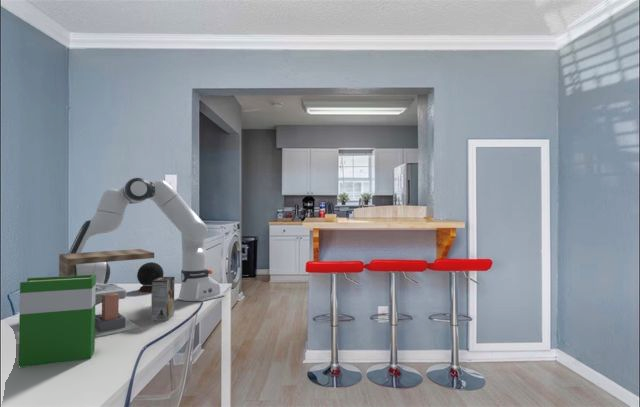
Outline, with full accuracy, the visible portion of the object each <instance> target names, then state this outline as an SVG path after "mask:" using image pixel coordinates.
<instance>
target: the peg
mask: <svg viewBox="0 0 640 407" xmlns="http://www.w3.org/2000/svg"><path fill="white" fill-rule="evenodd" d="M119 300H120V299H119V295H118V294H116V293H110V294H102V303H101V316H102V320H103V321H105V320H111V319H117V318H118V313H119V304H120V303H119Z"/></svg>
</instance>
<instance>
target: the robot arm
mask: <svg viewBox="0 0 640 407" xmlns="http://www.w3.org/2000/svg"><path fill="white" fill-rule="evenodd" d="M146 200H151V201H152V202H153V203H155V205H156V206H157V207H158V208H159V209H160V210H161V212H162V213H163V214H164V215H165V217H166V218H167V219H168V220H169V221H170V222H171V223H172V224H173V225H174V226H175V227H176V229H177V230H178V231H180V233H181V249H182V251H181V253H182V255H181V256H182V258H181V260H182V261H181V262H182V268H181V271H180V282H181V283H180V284H181V286H180V291H179V295H178V297H177V298H178V300H180V301H186V302H203V301H204V302H205V301H208V300H212V299H216V298H217V299H218V298H222V297H225V295H226V294H225V292H223V291H221V287H220V286H221V285H220V283H219V282H218V281H216V280H215V279H214V278H213V277H211V276H209V275H212V274H213V270H211V269H207V268H206V259H207V258H206V257H207V256H206V254H207V253H206V248H205V240H206V238H207V237H208V234H209V230H208V228H209V227H208V226H207V224H206V223H205V222H204V221H203V220H202V219H201V217H200V216H198V214H197V213H196V212H195V211H194V210H193V209H192V208H191V207H190V206H189V204H188V203H187V202H185V200H184V199H183V198H182V197H181V195H180V194H179V193H178V192H177V191H176V190H175V189H174V188H173V186H171V185H170V184H169V183H168V182H167V181H165V180H163V179H157V180H154V181H153V182H152V181H150V180H148V179H145V178H142V177H133V178H131V179H129V180H128V181H127V182H126V183H124V186H123V187H122V188H121V189H119V188H118V189H117V188H109V189H106V190H104V192H103V193H102V196H101V198H100V200H99V202H98V205H97V208H96V211H95V214H94V215H93V217H92V218H91V219H89V220H86V221H85V222H84V223H82V226H81V228H80V229H79V230H78V233H77V235H76V237H75V238H74V241H73V243H72V244H71V247H70V249H69V251H68V253H67V254H70V253H83V249H84V248H85V245H86V244H87V241H89V239H90V238H92V237H93V236H97V235H100V234H108V233H111V232H114V231H116V230H118V228H120V226H121V225H122V222H123V219H124V215H125V212H126V209H127V207H128V205H129V204H141V203H143V202H145V201H146ZM76 275H96V294H95V306H97V305H100V304H102V294H110V293H116V294H118V295H119V300H124V299H126V296H127V290H126V289H125V288H124V287H122V286H120V285H119V286H118V284H116V283H108V281H109V279H110V276H111V267H110V265H109V262H99V263H86V264H75V276H76Z"/></svg>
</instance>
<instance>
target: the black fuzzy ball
mask: <svg viewBox="0 0 640 407" xmlns="http://www.w3.org/2000/svg"><path fill="white" fill-rule="evenodd" d="M136 276H137V281H138V282H139V284H140V285H142V286H140V287H139V289H138V292H139V291H140V293H152V281H153V280H155V279H157V278H159V277H164V269H163V268H162V266H161V265H160V264H158V263H156V262H151V261H150V262H145V263H144V264H142V265H141V266H140V267H139V269H138V270H137V273H136Z"/></svg>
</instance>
